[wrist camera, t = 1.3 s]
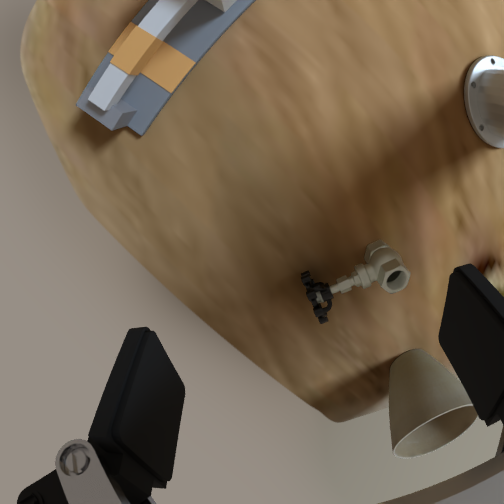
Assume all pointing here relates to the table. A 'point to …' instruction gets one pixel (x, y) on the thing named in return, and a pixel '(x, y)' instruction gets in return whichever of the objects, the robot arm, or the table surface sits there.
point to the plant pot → (425, 405)
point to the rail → (154, 60)
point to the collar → (222, 4)
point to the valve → (361, 277)
